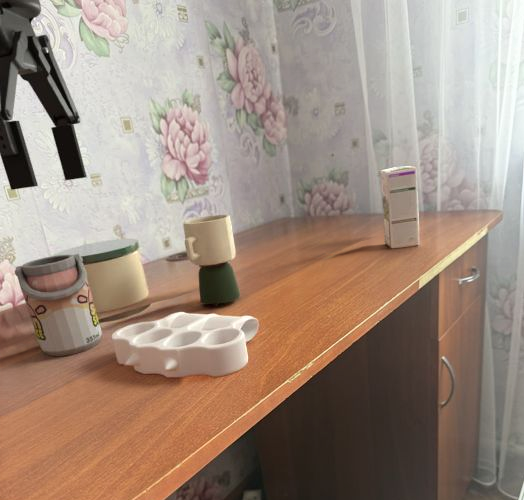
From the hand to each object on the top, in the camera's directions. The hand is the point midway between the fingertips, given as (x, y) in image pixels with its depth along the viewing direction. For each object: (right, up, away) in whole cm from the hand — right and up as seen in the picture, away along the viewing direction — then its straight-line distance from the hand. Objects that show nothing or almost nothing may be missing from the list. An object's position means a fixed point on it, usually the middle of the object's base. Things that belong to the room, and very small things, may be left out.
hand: (53, 183), depth 60 cm
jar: (0, -13, +23) cm, 27 cm away
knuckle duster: (+16, -21, -1) cm, 27 cm away
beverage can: (0, -20, +8) cm, 22 cm away
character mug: (+19, -13, +18) cm, 29 cm away
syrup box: (+53, +1, +39) cm, 66 cm away
